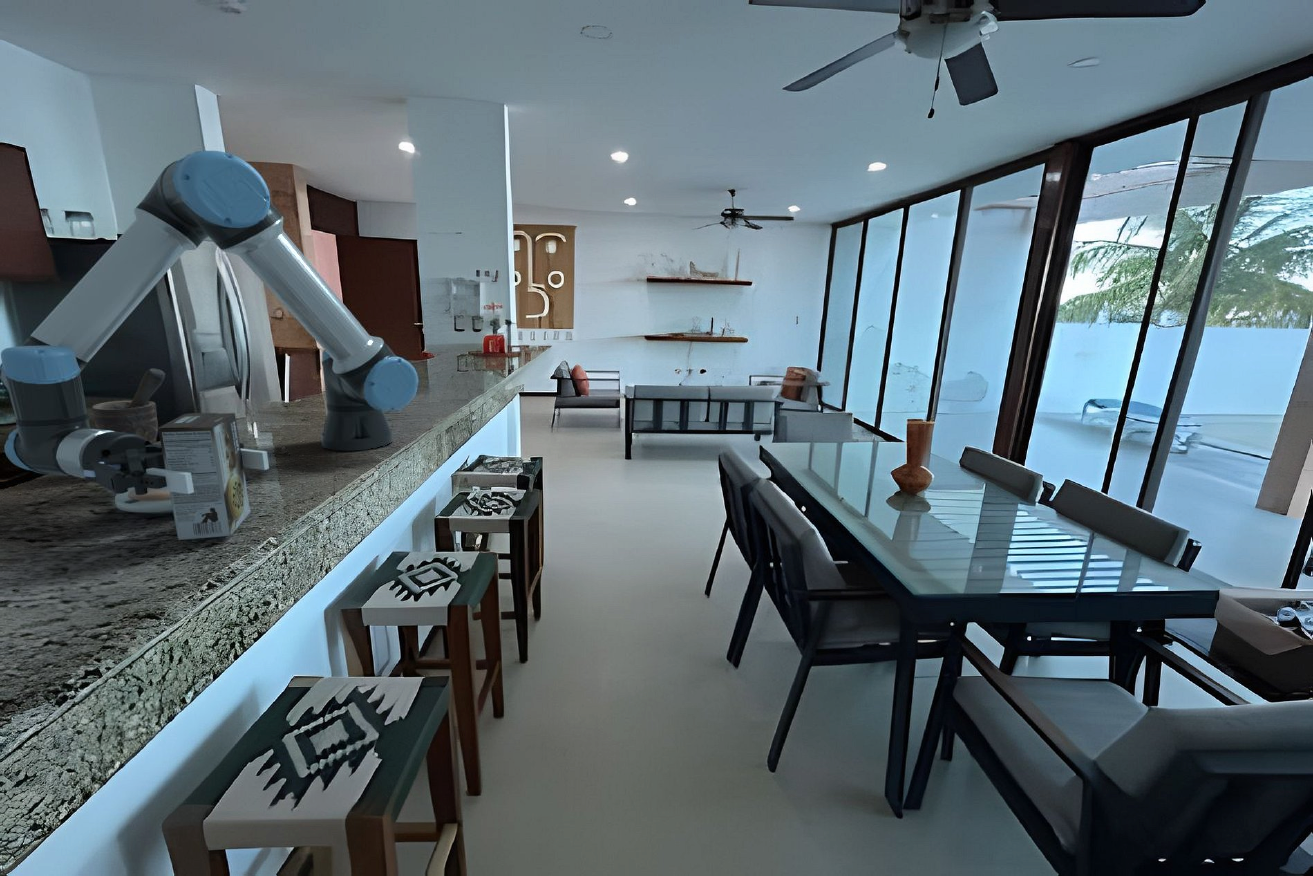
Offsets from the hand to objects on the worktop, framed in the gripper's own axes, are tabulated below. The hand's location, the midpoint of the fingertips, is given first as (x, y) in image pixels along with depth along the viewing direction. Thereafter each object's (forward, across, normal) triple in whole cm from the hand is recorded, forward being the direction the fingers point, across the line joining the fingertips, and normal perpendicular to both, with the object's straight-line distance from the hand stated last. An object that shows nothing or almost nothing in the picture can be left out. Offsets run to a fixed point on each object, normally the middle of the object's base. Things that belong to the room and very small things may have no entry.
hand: (230, 471), depth 78 cm
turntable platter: (-19, -6, -8) cm, 22 cm away
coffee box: (-4, 0, -9) cm, 10 cm away
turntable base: (-19, -6, -10) cm, 22 cm away
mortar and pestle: (-42, -18, -10) cm, 47 cm away
